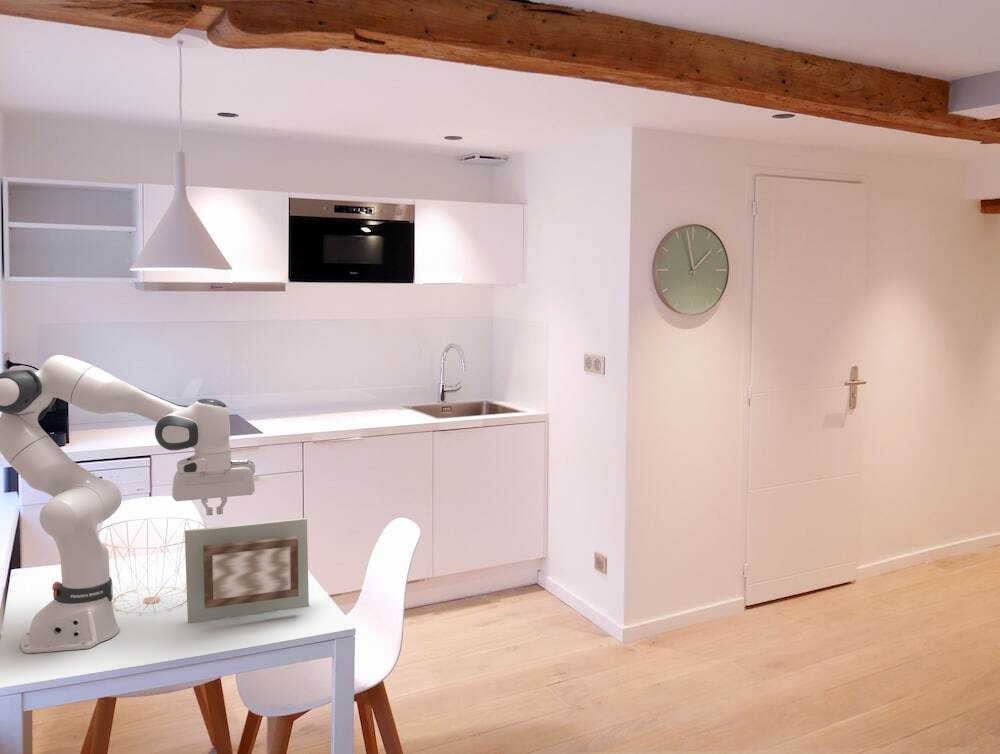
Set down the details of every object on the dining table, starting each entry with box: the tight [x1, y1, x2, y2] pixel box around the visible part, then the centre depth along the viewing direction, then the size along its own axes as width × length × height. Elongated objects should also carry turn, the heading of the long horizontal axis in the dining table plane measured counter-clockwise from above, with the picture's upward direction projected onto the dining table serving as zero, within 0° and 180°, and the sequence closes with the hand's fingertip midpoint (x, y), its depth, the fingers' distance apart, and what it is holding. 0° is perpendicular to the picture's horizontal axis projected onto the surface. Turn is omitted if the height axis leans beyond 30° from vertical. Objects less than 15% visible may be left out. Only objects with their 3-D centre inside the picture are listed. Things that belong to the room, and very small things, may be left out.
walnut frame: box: [203, 536, 299, 608], centre depth 231 cm, size 24×2×16 cm, turn 114°
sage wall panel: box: [184, 517, 310, 624], centre depth 235 cm, size 32×6×25 cm, turn 114°
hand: (214, 514), depth 225 cm, fingers closed
